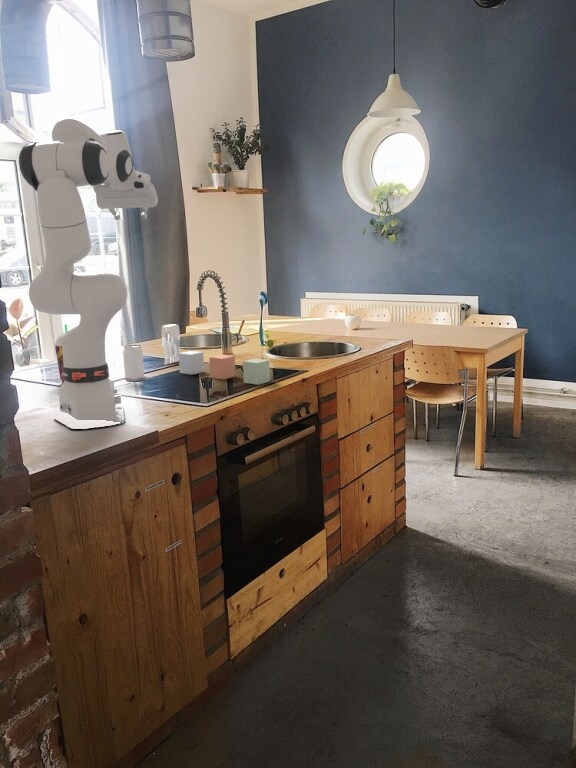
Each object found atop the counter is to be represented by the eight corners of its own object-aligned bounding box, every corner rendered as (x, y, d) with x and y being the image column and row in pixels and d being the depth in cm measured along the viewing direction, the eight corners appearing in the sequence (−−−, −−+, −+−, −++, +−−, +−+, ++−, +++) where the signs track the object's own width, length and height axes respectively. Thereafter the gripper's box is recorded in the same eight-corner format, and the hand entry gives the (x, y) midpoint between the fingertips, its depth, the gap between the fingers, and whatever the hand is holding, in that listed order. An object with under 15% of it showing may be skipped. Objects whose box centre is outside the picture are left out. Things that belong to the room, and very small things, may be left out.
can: (139, 382, 224) (137, 347, 222) (122, 382, 225) (119, 347, 223) (147, 378, 230) (145, 344, 228) (130, 378, 232) (127, 344, 229)
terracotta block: (223, 379, 220) (222, 358, 218) (210, 377, 223) (209, 357, 222) (235, 376, 224) (234, 356, 223) (222, 374, 228) (221, 354, 226)
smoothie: (62, 386, 221) (56, 326, 217) (55, 382, 228) (49, 324, 223) (87, 383, 225) (81, 324, 221) (79, 379, 232) (74, 322, 228)
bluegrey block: (191, 374, 229) (190, 354, 227) (179, 372, 232) (178, 353, 231) (204, 371, 233) (203, 352, 232) (192, 370, 237) (191, 350, 235)
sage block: (257, 384, 210) (257, 363, 209) (243, 382, 214) (242, 361, 213) (269, 381, 215) (269, 360, 214) (255, 379, 219) (255, 358, 217)
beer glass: (173, 366, 252) (170, 326, 249) (159, 364, 256) (157, 326, 252) (185, 363, 258) (183, 324, 254) (171, 361, 261) (169, 323, 258)
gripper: (89, 185, 215) (99, 223, 224) (151, 183, 214) (158, 222, 223) (94, 176, 220) (103, 215, 229) (154, 175, 219) (161, 213, 228)
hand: (131, 218), depth 226 cm, fingers open, 8 cm apart
